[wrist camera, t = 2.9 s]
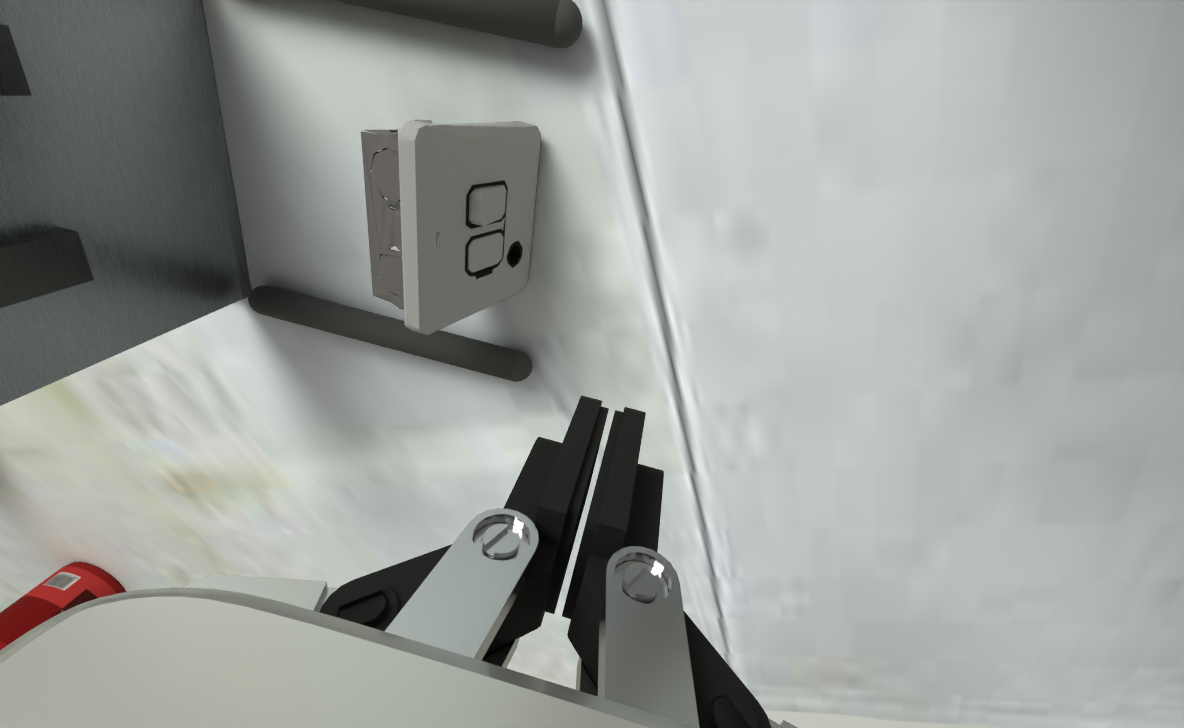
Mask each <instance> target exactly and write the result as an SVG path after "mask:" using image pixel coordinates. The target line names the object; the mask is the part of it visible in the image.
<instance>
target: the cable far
mask: <svg viewBox="0 0 1184 728" xmlns="http://www.w3.org/2000/svg"><path fill="white" fill-rule="evenodd" d="M248 302H249V304H250V307H251V308H252V309H253V310H254V311H256V312H257V313H260V314H263V315H266V316H270V317H274V318H278V319H281V320H285V321H289V322H293V323H296V324H300V325H304V326H308V327H311V328H315V329H319V330H323V331H327V332H330V333H334V334H338V335H342V336H345V337H349V338H353V339H357V340H360V341H364V342H368V343H372V344H375V345H379V346H383V347H387V348H391V349H394V350H398V351H402V352H406V353H409V354H413V355H417V356H421V357H424V358H428V359H432V360H436V361H439V362H443V363H447V364H451V365H455V366H458V367H462V368H466V369H470V370H473V371H477V372H481V373H485V374H488V375H492V376H496V377H500V378H503V379H507V380H511V381H522V380H524V379H526V378H527V377H528V376H529V375H530V373H531V371H532V362H531V360H530V358H529V357H528V356H527V355H526V354H525V353H523V352H520V351H516V350H512V349H509V348H505V347H501V346H497V345H493V344H489V343H486V342H482V341H478V340H474V339H470V338H466V337H463V336H459V335H455V334H451V333H447V332H443V331H440V330H438V331H435V332H433V333H431V334H429V335H426V334H422V333H419V332H416V331H412V330H410V329H409V328H408V327H406V326H405V321H401V320H397V319H394V318H390V317H386V316H382V315H378V314H374V313H371V312H367V311H363V310H359V309H355V308H351V307H348V306H344V305H340V304H336V303H332V302H328V301H325V300H321V299H317V298H313V297H309V296H305V295H302V294H298V293H294V292H290V291H286V290H282V289H279V288H275V287H271V286H259V287H256V288H254V289H253V290H252V291H251V292H250V294H249V297H248Z"/></svg>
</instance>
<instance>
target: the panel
mask: <svg viewBox="0 0 1184 728" xmlns="http://www.w3.org/2000/svg"><path fill="white" fill-rule="evenodd" d="M250 292H251V287H250V281H249V275H248V270H247V264H246V258H245V252H244V246H243V240H242V235H241V229H240V223H239V217H238V211H237V205H236V199H235V194H234V188H233V182H232V176H231V170H230V164H229V159H228V153H227V147H226V141H225V135H224V129H223V124H222V118H221V112H220V106H219V100H218V94H217V89H216V83H215V77H214V71H213V65H212V59H211V54H210V48H209V42H208V36H207V30H206V24H205V19H204V13H203V7H202V1H201V0H0V406H1V405H3V404H5V403H8V402H10V401H12V400H15V399H17V398H19V397H21V396H24V395H26V394H28V393H30V392H33V391H35V390H37V389H39V388H42V387H44V386H46V385H49V384H51V383H53V382H55V381H58V380H60V379H62V378H64V377H67V376H69V375H71V374H74V373H76V372H78V371H80V370H83V369H85V368H87V367H89V366H92V365H94V364H96V363H98V362H101V361H103V360H105V359H108V358H110V357H112V356H114V355H117V354H119V353H121V352H123V351H126V350H128V349H130V348H133V347H135V346H137V345H139V344H142V343H144V342H146V341H148V340H151V339H153V338H155V337H158V336H160V335H162V334H164V333H167V332H169V331H171V330H173V329H176V328H178V327H180V326H182V325H185V324H187V323H189V322H192V321H194V320H196V319H198V318H201V317H203V316H205V315H207V314H210V313H212V312H214V311H217V310H219V309H221V308H223V307H226V306H228V305H230V304H232V303H235V302H237V301H239V300H242V299H244V298H246V297H248V296H249V294H250Z"/></svg>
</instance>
